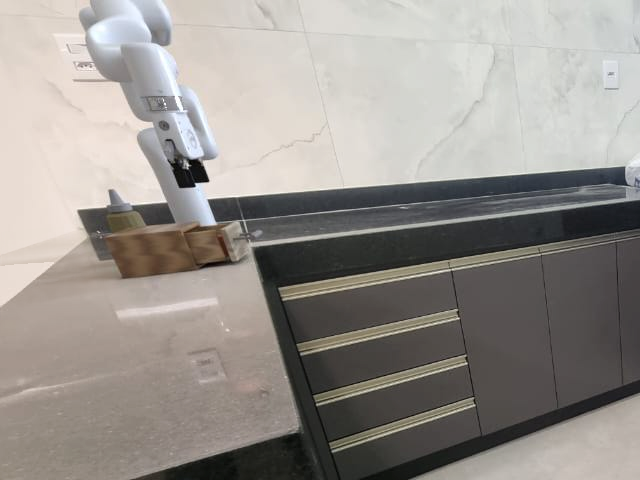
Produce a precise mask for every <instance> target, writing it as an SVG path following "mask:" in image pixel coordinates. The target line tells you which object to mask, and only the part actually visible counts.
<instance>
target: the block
mask: <svg viewBox="0 0 640 480" xmlns="http://www.w3.org/2000/svg"><path fill="white" fill-rule="evenodd" d="M217 235H218V238H219V240H220V243H221V246H222V248H223V251H224V253H225V255H229V253H228V250H227V247H226V245H225V242H224V240H223V237H222V234H217Z"/></svg>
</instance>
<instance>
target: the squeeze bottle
mask: <svg viewBox="0 0 640 480" xmlns="http://www.w3.org/2000/svg"><path fill="white" fill-rule="evenodd" d="M107 191H108V192H107V193H108V196H109V202H110V204H107V205H106V209H107V211H108V214H107V215H106V216H105V217H106V220H107V223H108V227H109V230H110V232H111V234H114V233H116V232H119V231H121V230H124V229H127V228H131V227H142V226H147V224H146V222H145V221H144V219H143V217H142V215H141V213H140V212H138V211H136V210H133V207H132V205H131V203H130V202H124V200H123V199H122V198H121V196H120V195H119V194H118V191H116V190H115V188H110V189H108V190H107Z"/></svg>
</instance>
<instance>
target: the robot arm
mask: <svg viewBox="0 0 640 480" xmlns="http://www.w3.org/2000/svg"><path fill="white" fill-rule="evenodd" d="M89 4H90V6H89V7H88V6H87V7H84V8H81V9H80V10H79V12H78V19H79V22H80V24H81V26H82V28H83V30H84V32H85V36H84V41H85V46H86V49H87V52H88V54H89V56H90V58H91V60H92V63H93V65H94V67H95V68H96V70H97V71H98V73H99V74H100V75H101V76H102V77H103V78H104V79H106V80H107V81H110V82H112V83H119V85H120V88H121V91H122V93H123V95H124V98H125V100H126V102H127V104H128V106H129V109H130V111H131V112H132V114H133V115H134V116H135V117H136V119H138V120H139V121H142V122H147V123H152V125H153V127H148V128H144V129H142V130H140V131H138V133H137V135H136V142H137V144H138V146H139V148H140V150H141V152H142V154H143V156H144V157H145V158H146V161H147V162H148V163H149V165H150V168H151V170H152V171H153V173H154V175H155V177H156V180H157V182H158V184H159V187H160V189H161V191H162V195H163V196H164V198H165V202H166V203H167V205H168V208H169V210H170V213H171V215H172V218H173V220H174V222H175V223H185V222H196V221H199V222H200V225H201V226H209V225H218V222H216V219H215V216H214V214H213V211H212V208H211V206H210V203H209V200H208V199H207V196H206V193H205V190H204V188H203V185H202V184H207V183H210V178H209V175H208V173H207V169H206V167H205V165H204V161H211V160H215V159H217V158H218V156H219V149H218V146H217V141H216V139H215V138H214V135H213V132H212V129H211V127H210V124H209V121H208V118H207V116H206V114H205V112H204V108H203V106H202V104H201V101H200V99H199V97H198V95H197V94H196V93H195V91H194V90H193V89H192V88H191V87H189V86H187V85H184V84H178V82H177V78H178V75H179V72H180V71H179V68H178V64H177V62H176V60H175V58H174V56H173V54H171V53H170V52H169V51H167V50H166V49H165V48H164V47H168V46H170V45H172V43H173V31H174V30H173V28H174V27H173V19H172V17H171V14H170V12H169V9H168V7H167V5H166V4H165V2H164V1H163V0H89Z"/></svg>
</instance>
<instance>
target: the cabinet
mask: <svg viewBox="0 0 640 480" xmlns="http://www.w3.org/2000/svg"><path fill="white" fill-rule="evenodd" d="M198 226H201V225H200V222H199V221H196V222H185V223H164V224H154V225H146V226H142V227H131V228H127V229H124V230H121V231H119V232H116V233H114V234H112V233H110V234H108V235H105V236H103V237H102V238H103V241H104V242H105V244H106V246H107V249H108V250H109V252H110V255H111V257H112V259H113V261H114V263H115V266H116V267H117V269H118V271H119V274H120V276H121V278H122V279H131V278H139V277H147V276H157V275H165V274H173V273H181V272H191V271H197V270H199V269H201V268H202V267H203V266H205V265H206V264H207V263H199V264H196V263H195V261H194V258H193V256H192V253H191V251H190V249H189V246H188V244H187V241H186V239H185V236H184V234H183V233H184V232H186V231H188V230H190V229H192V228H194V227H198Z"/></svg>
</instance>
